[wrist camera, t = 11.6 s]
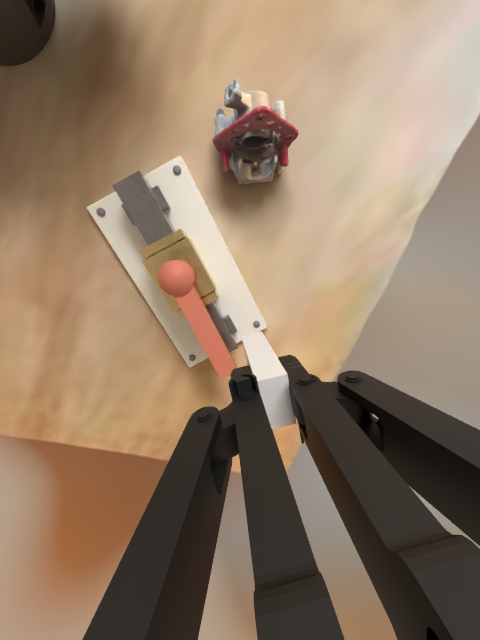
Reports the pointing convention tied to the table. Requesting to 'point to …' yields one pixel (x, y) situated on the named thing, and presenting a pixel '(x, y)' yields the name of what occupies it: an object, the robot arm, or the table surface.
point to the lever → (195, 313)
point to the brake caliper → (253, 135)
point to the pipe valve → (170, 248)
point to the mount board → (206, 238)
